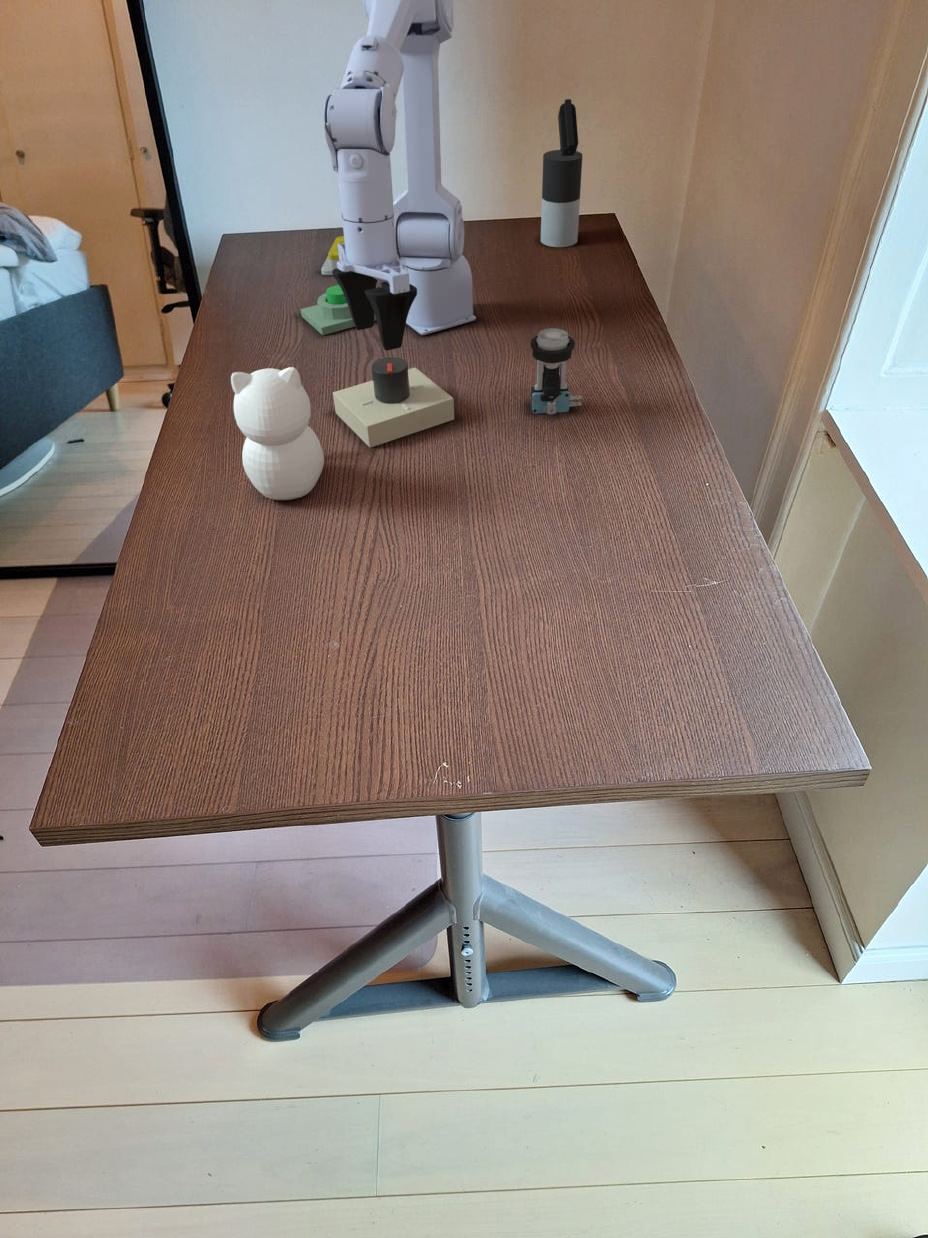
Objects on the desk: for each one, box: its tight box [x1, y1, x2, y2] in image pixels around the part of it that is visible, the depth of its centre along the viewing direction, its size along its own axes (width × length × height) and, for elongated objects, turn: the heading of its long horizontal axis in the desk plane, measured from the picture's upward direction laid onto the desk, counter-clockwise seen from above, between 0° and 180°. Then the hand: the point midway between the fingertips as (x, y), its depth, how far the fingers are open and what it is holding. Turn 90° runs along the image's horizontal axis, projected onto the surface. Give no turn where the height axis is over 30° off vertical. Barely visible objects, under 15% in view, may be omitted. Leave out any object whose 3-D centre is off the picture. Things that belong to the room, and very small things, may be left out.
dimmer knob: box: [371, 356, 410, 403], centre depth 105 cm, size 4×4×4 cm
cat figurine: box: [230, 366, 325, 501], centre depth 94 cm, size 9×12×15 cm
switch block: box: [300, 292, 377, 336], centre depth 130 cm, size 10×8×3 cm
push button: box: [530, 327, 583, 415], centre depth 105 cm, size 7×5×10 cm
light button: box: [325, 284, 347, 305], centre depth 129 cm, size 4×4×2 cm
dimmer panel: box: [332, 367, 455, 449], centre depth 108 cm, size 12×10×3 cm
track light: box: [540, 98, 583, 248], centre depth 144 cm, size 6×17×20 cm
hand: (378, 337), depth 102 cm, fingers open, 7 cm apart
